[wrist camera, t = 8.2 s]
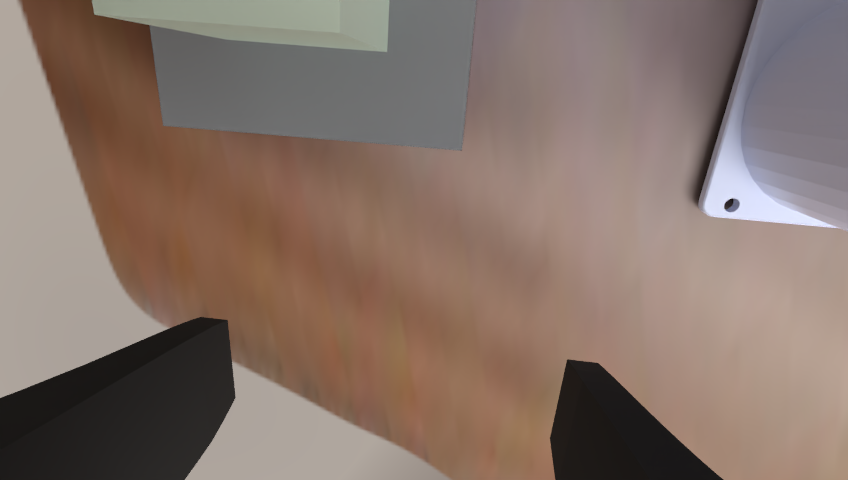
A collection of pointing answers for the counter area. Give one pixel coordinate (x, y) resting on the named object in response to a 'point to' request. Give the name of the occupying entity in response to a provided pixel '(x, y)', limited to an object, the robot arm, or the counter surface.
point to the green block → (265, 20)
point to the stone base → (327, 82)
